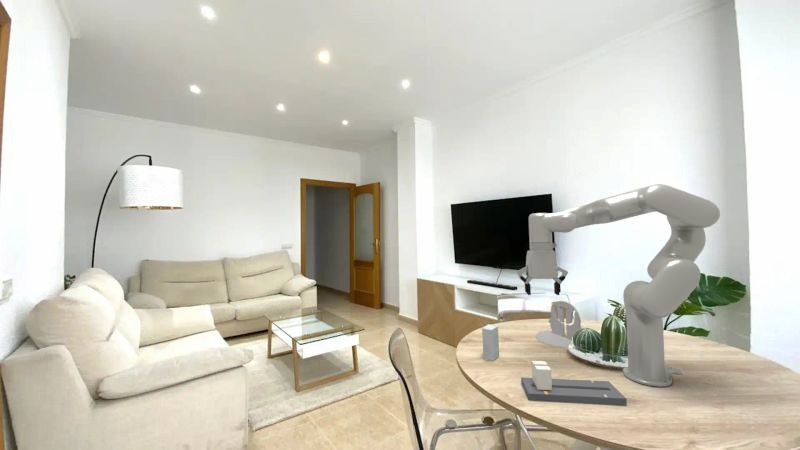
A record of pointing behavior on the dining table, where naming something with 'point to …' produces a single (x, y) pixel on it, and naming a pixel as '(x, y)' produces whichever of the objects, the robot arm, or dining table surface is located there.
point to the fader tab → (541, 375)
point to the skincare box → (490, 342)
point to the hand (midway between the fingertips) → (542, 294)
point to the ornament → (560, 326)
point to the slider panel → (575, 392)
